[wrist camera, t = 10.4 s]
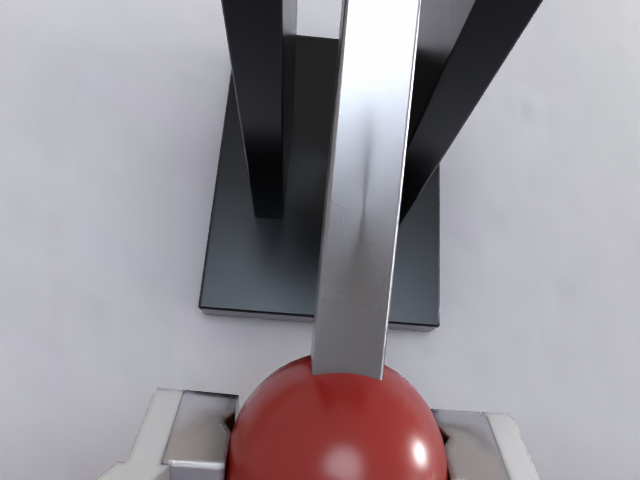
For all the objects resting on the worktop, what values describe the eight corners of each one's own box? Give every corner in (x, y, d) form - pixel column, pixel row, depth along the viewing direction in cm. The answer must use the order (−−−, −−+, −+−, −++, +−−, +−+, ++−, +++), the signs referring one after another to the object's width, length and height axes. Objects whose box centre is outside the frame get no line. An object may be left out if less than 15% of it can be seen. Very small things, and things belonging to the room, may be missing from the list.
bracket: (430, 332, 19) (891, 99, 4) (203, 314, 18) (-72, 3, 4) (431, 67, 22) (696, -543, 8) (239, 48, 22) (154, -625, 8)
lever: (410, 506, 11) (464, 666, 7) (233, 495, 11) (197, 652, 7) (486, -187, 9) (599, -414, 6) (286, -211, 9) (276, -458, 6)
